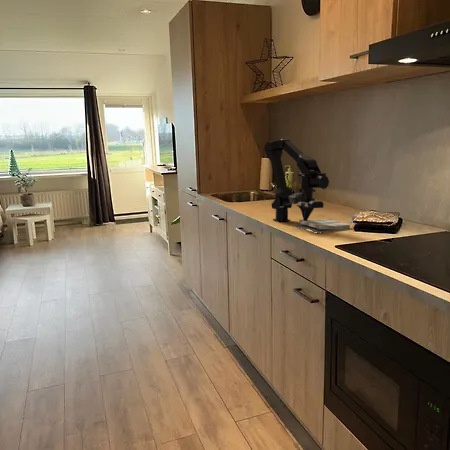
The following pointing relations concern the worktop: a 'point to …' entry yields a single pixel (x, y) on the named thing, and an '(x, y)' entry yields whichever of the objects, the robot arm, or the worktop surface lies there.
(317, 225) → the loose plank
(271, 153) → the robot arm
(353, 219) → the packaged product
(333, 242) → the worktop surface
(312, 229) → the underlay mat
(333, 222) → the grey flat block
